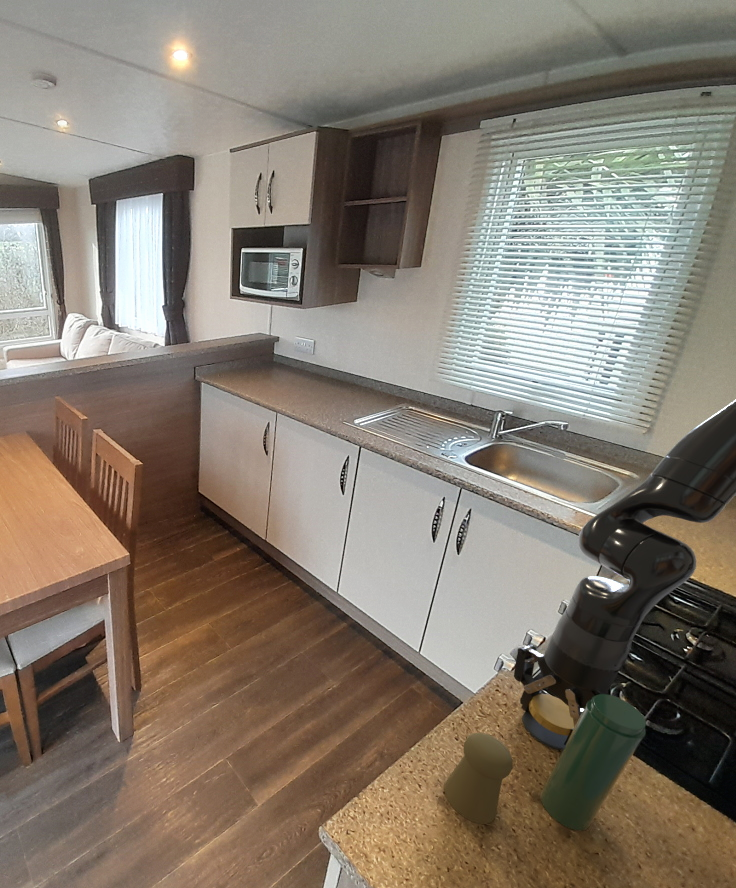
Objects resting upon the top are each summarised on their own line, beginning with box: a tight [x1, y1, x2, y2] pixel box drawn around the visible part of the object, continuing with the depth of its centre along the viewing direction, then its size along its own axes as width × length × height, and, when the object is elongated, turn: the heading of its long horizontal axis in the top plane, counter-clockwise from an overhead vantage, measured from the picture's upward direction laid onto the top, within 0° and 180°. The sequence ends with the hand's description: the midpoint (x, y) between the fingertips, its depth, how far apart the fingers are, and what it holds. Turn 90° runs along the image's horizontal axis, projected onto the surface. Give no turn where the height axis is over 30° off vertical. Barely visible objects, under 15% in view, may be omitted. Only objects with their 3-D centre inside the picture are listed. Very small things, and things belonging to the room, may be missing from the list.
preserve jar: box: [539, 693, 647, 832], centre depth 60 cm, size 5×5×19 cm
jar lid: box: [529, 693, 574, 736], centre depth 73 cm, size 6×6×2 cm
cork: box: [443, 732, 514, 825], centre depth 63 cm, size 6×6×11 cm
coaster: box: [521, 711, 568, 751], centre depth 74 cm, size 6×6×1 cm
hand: (548, 726), depth 74 cm, fingers closed on jar lid, 5 cm apart
